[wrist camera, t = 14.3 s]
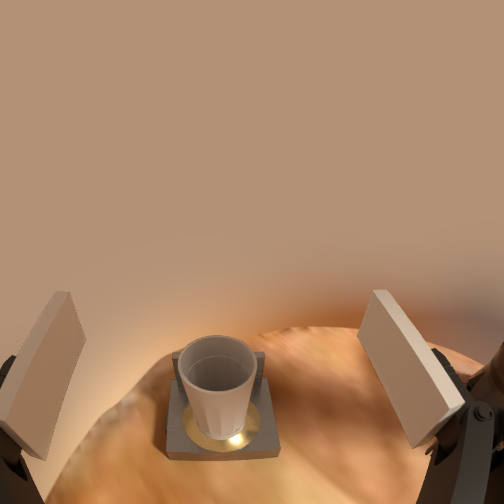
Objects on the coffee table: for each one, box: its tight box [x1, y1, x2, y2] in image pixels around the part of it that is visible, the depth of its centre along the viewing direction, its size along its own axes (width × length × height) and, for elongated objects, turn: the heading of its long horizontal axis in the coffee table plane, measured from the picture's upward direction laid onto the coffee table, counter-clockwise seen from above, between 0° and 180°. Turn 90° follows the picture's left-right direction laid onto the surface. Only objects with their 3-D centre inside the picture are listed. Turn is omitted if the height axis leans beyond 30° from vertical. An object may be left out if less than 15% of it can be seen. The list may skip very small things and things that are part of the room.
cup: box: [178, 335, 257, 440], centre depth 31 cm, size 8×8×12 cm
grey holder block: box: [165, 352, 281, 461], centre depth 34 cm, size 14×12×9 cm
